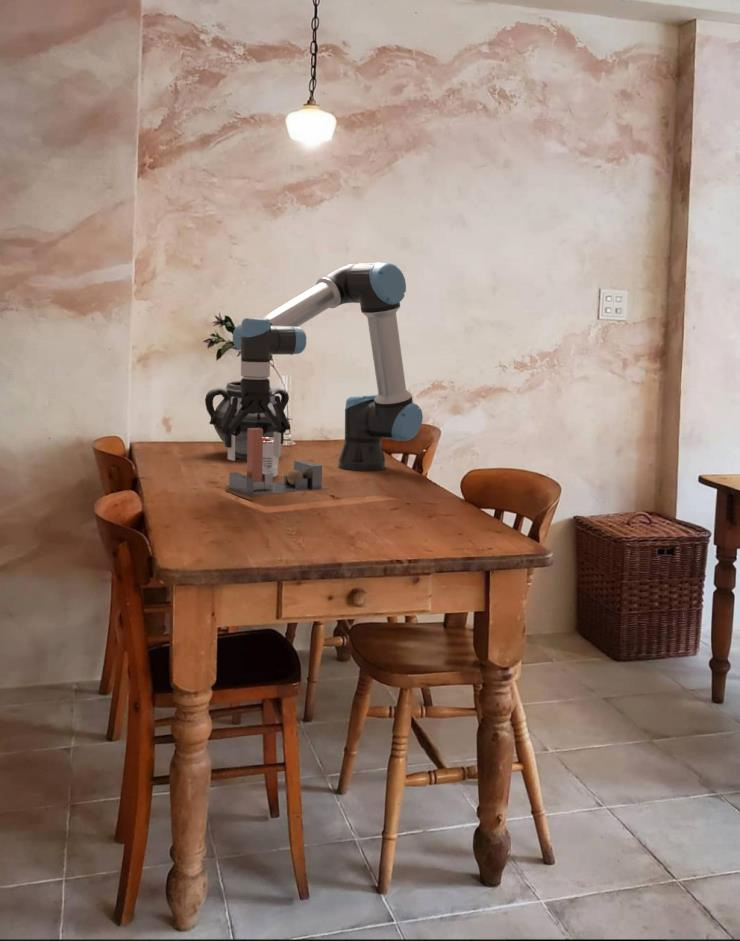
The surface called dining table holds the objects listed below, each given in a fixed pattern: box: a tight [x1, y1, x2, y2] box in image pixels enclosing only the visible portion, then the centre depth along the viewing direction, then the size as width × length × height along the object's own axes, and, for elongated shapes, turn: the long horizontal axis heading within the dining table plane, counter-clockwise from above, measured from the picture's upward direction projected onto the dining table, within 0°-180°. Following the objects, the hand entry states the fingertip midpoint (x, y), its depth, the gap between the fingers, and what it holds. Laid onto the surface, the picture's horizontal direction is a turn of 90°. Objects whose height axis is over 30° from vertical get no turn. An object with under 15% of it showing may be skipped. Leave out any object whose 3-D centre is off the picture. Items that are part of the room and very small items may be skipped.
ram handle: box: [246, 428, 274, 490], centre depth 246 cm, size 7×4×16 cm, turn 125°
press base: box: [225, 459, 328, 502], centre depth 251 cm, size 24×14×8 cm, turn 125°
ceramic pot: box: [204, 380, 290, 460], centre depth 308 cm, size 29×23×25 cm
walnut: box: [286, 469, 303, 486], centre depth 254 cm, size 4×4×4 cm
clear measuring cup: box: [262, 437, 280, 478], centre depth 268 cm, size 10×8×12 cm
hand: (254, 458), depth 246 cm, fingers open, 13 cm apart
